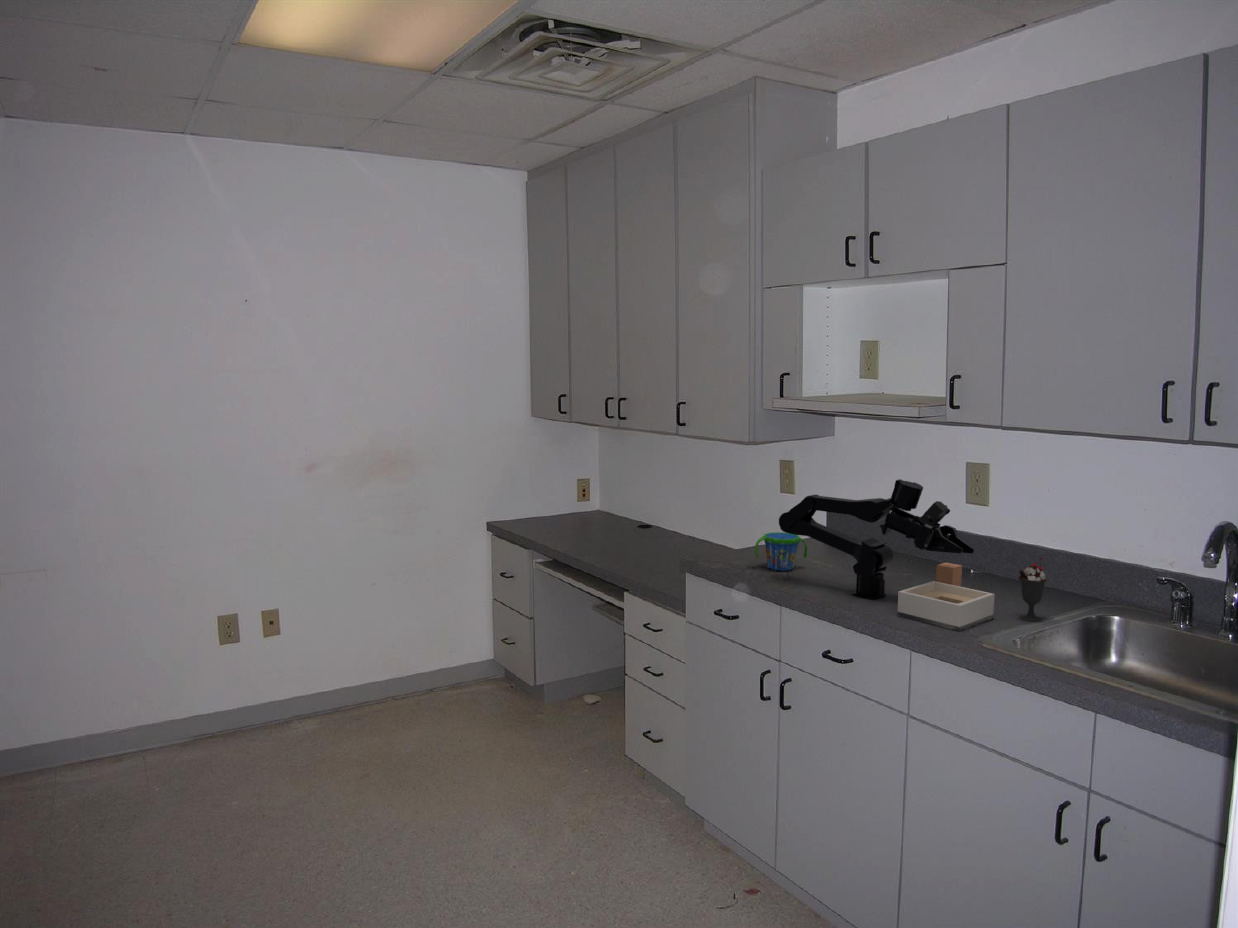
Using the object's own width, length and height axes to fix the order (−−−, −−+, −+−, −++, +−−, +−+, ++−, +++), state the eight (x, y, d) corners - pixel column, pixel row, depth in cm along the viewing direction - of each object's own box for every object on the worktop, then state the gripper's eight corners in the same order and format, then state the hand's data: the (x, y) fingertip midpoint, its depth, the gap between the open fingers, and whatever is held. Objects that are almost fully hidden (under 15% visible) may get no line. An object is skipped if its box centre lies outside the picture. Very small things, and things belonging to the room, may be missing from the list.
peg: (935, 598, 226) (936, 565, 225) (944, 595, 229) (946, 562, 228) (951, 602, 223) (953, 568, 222) (960, 599, 226) (962, 565, 225)
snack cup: (804, 565, 263) (805, 532, 262) (809, 573, 252) (810, 539, 251) (752, 564, 264) (753, 531, 263) (755, 572, 254) (756, 538, 252)
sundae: (1049, 618, 209) (1053, 557, 207) (1041, 624, 204) (1044, 562, 202) (1020, 613, 213) (1024, 553, 212) (1011, 619, 208) (1015, 558, 207)
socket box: (897, 615, 211) (898, 591, 210) (932, 604, 221) (933, 581, 221) (959, 631, 199) (960, 605, 198) (993, 618, 209) (994, 594, 208)
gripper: (908, 494, 211) (969, 520, 202) (934, 498, 226) (992, 522, 216) (890, 535, 213) (950, 563, 204) (917, 537, 228) (974, 562, 218)
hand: (967, 551), depth 211 cm, fingers open, 9 cm apart
